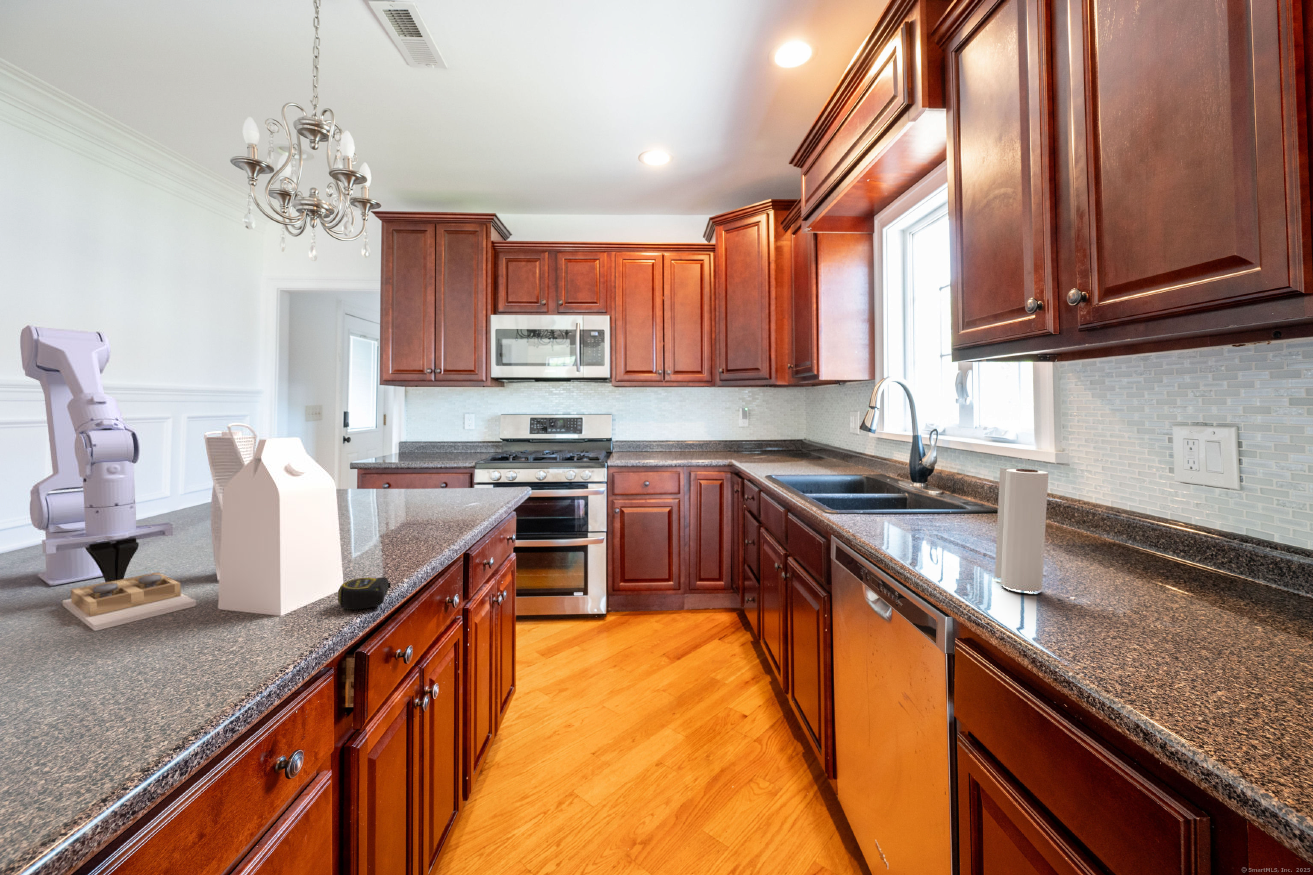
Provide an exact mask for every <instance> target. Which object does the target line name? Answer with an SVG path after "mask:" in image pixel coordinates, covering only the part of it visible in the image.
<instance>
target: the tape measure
mask: <svg viewBox="0 0 1313 875" xmlns="http://www.w3.org/2000/svg"><path fill="white" fill-rule="evenodd" d="M391 584H392V582H389V578H387V577H385V576H383V577H382V576H381V577H360V578H359V577H358V578H354V579H350V580H347V581H346V582H343V584H342V585H341V586H340V589H339V590H338V592H337V602H338V604H339V606H340V607H341V608H343V609H346V610H358V611H359V610H362V609H363V610H364V609H369V608H372V607H378V606H381V605H383V603H384V602H385V597H386V595H387V594H388V591H389V589H391V588H392V586H391Z"/></svg>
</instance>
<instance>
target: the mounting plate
mask: <svg viewBox="0 0 1313 875" xmlns="http://www.w3.org/2000/svg"><path fill="white" fill-rule="evenodd" d="M160 580H161V575H149V576H144V577H141V578H139V583H140V584H145V589H146V588H151V587H155V586H156V582H157V581H160ZM116 589H118V584H117V583H110V584H103V585H99V586H96V587H93V593H100V598H103V597H108V596H112V591H113V590H116ZM61 603H62V606H63V607H64V608H65V609H67V611H68V612H70V613H72V615H74V616H75V617H76V618H77V619H79V620H80V621H81V622H83V623H84V624H85V625H87V626H88V627H89V628H90V629H91V630H93V631H94V632H97V631H100V630H104V629H109V628H112V627H116V626H117V627H118V626H120V625H125V624H128V623H133V622H137V621H141V620H144V619H145V620H146V619H149V618H152V617H157V616H162V615H165V614H169V613H173V612H178V611H180V610H185V609H189V608H194V607H197V600H195V599H193V598H191V597H190V596H187V595H186V594H183V593H182V592H181V596H177V597H172V598H168V599H164V600H159V601H155V602H151V603H146V604H142V605H138V606H133V607H129V608H125V609H120V610H116V611H111V612H107V613H103V614H98V615H94V616H89V615H88V614H86V613H85V612H84V611H83V610H81V609H80V608H79V607H77V606H76V605H75V604H73V603H72V602H71V598H68V599H63V600H62V602H61Z"/></svg>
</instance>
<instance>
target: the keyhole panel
mask: <svg viewBox="0 0 1313 875" xmlns="http://www.w3.org/2000/svg"><path fill="white" fill-rule="evenodd" d="M149 575H161V580H160V581H157V582H156V586H155V587H151V588H146V589H145V584H140V583H139V578H141V577H144V576H149ZM110 583H117V584H118V589H116V590H113V591H112V596H108V597H103V598H100V593H93V587H96V586H99V585H103V584H110ZM181 588H182V587H181V582H179V581H177V580H174V579H172V578H171V577H168V576H167V575H165V574H163V573H160V572H158V571H157V572H152V573H147V574H142V575H137V576H132V577H126V578H124V579H121V580H116V581H111V582H105V581H104V582H102V583H96V584H91V585H86V586H85V585H84V586H79V587H76V588H75V587H74V588H71V589H70V599H71V602H72V603H73V604H75V605H76V606H77V607H79V608H80V609H81V610H83V611H84V612H85V613H86V614H88V615H89V616H94V615H98V614H103V613H107V612H111V611H116V610H120V609H125V608H129V607H133V606H138V605H142V604H146V603H151V602H155V601H159V600H164V599H168V598H172V597H177V596H181V593H182V592H181Z"/></svg>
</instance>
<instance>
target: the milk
mask: <svg viewBox="0 0 1313 875" xmlns="http://www.w3.org/2000/svg"><path fill="white" fill-rule="evenodd" d="M256 445H257V446H256V447H255V454H254V458H253V459H252V460H251V461H250V462H249V463H247V464H246V465H245V466H244V467H243V468H242V469H241V470H240V471H239V472H238V473H237V474H236V475H235V476H234V477H233V478H232V479H231V480H230V481H229V482H228V484H227V485H226V486H225V489H224V492H223V506H222V529H221V553H220V577H219V582H218V583H219V584H218V605H217V609H218V610H226V611H233V612H243V613H252V614H259V615H260V614H263V615H270V616H284V615H287V614H289V613H291V612H293V611H295V610H299V609H300V608H302V607H303V608H304V607H305V606H308V605H310V604H311V603H314V602H317V601H319V600H321V599H323V598H326V597H329V596H331V595H333V594H335V593H338V590H339V589H340V586H341V585H342V584H343V583H344V575H343V571H344V570H343V558H342V547H341V546H342V545H341V537H340V535H341V533H340V523H339V522H340V521H339V511H338V510H339V508H338V498H337V487H336V483H335V481H334V479H333V478H332V477H331V475H330V474H329V473H328V472H327V470H325V469H324V468H323V467H321V465H320V464H318V463H317V462H316V461H315V460H314V459H313V458H312V457H311V456H309V454H307V451H306V449H305V447H304V444H303V443H302V440H301V438H300V437H297V436H294V437H279V438H277V437H276V438H261V439H260V438H259V440H258V442H257V444H256Z"/></svg>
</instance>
